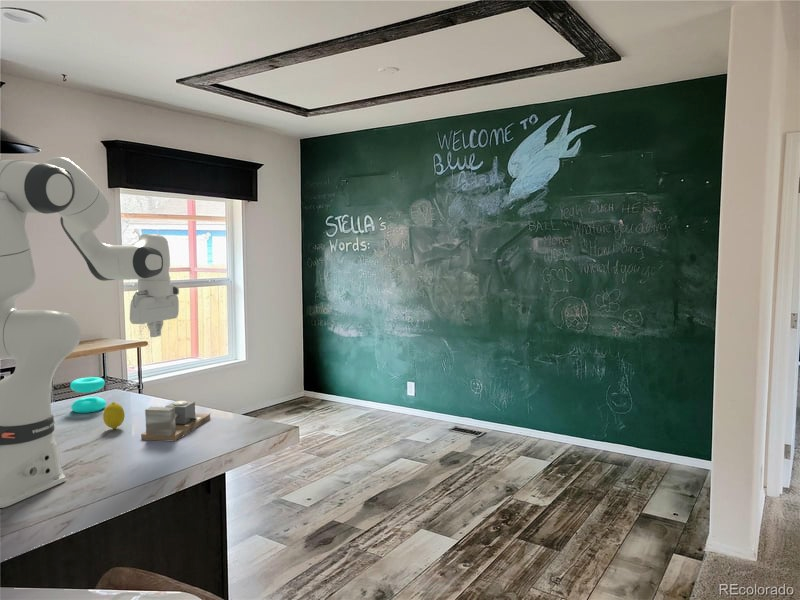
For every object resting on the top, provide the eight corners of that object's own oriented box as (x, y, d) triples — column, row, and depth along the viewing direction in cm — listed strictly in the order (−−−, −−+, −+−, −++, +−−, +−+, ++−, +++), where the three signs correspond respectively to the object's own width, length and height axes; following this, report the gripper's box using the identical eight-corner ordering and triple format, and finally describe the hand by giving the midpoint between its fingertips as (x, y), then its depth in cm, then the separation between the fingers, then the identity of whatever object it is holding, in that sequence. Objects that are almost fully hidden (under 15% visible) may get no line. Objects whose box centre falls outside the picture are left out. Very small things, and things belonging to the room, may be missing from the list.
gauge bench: (175, 441, 159) (174, 410, 158) (141, 439, 160) (140, 409, 160) (210, 418, 180) (209, 391, 179) (179, 417, 181) (178, 390, 180)
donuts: (73, 384, 182) (67, 379, 190) (75, 415, 183) (68, 409, 191) (108, 380, 189) (100, 374, 196) (109, 410, 189) (102, 403, 197)
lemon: (128, 426, 172) (127, 400, 171) (118, 432, 167) (116, 405, 166) (111, 426, 173) (109, 399, 172) (99, 431, 167) (98, 404, 166)
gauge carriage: (186, 427, 166) (186, 408, 165) (161, 426, 167) (160, 407, 166) (201, 418, 174) (200, 400, 174) (176, 417, 175) (176, 399, 175)
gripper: (143, 291, 161) (145, 341, 161) (182, 288, 181) (183, 332, 182) (122, 291, 162) (124, 340, 162) (163, 288, 182) (164, 332, 183)
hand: (155, 336), depth 172 cm, fingers closed
